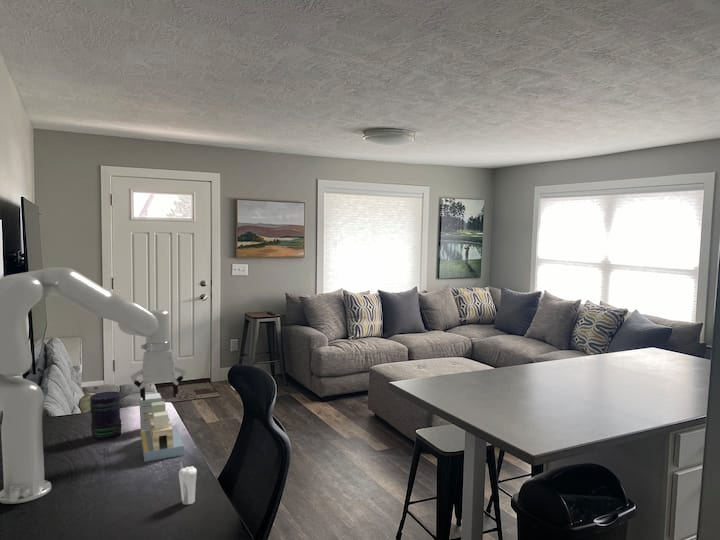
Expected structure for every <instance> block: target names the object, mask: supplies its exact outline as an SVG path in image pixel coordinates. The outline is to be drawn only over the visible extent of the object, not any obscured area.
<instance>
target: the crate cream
mask: <svg viewBox="0 0 720 540" xmlns="http://www.w3.org/2000/svg"><path fill="white" fill-rule="evenodd" d="M153 416H154V428H155V429H161V428H168V427H169V424H168V416H169V413H168V410H166V411H164V412H156V413H153Z"/></svg>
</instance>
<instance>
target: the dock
mask: <svg viewBox="0 0 720 540" xmlns="http://www.w3.org/2000/svg"><path fill="white" fill-rule="evenodd" d="M172 428H173V448H169V449H167V445H166V441H165V438H164V436H159V450H156V451H153V446H152V441H151V436H150V431H149V430H140V441H141V448H142V454H143V460H144V461H143V462H145V463H146V462H150V461H151V462H153V461H156V460H157V461H158V460H162V459H169V458H175V457H181V456H184V455H185V445H184V442H183V440H182V437H181V435H180V434H181V433H180V431H179V429H178V425H172Z"/></svg>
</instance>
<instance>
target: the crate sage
mask: <svg viewBox="0 0 720 540" xmlns="http://www.w3.org/2000/svg"><path fill="white" fill-rule="evenodd" d="M151 404H152V417H153V418H154V416H153V413H156V412H164V411H167V410H166V402H165V401H164V400H162V401H161V402H153V403H151Z"/></svg>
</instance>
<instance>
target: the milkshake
mask: <svg viewBox="0 0 720 540" xmlns="http://www.w3.org/2000/svg"><path fill="white" fill-rule="evenodd" d="M179 465H180V467H181V468H180V470H179V471H178V478H179V480H178V481H179V485H180V487H179V488H180V495H181V503H182V504H183V505H184V506H185V505H188V506H189V505H192V504H194V503H195V502H196V482H197V474H198V473H197V472H198V471H197V468H196V467H195V466H193V465H192V466H186V467H184V466H183V462H182V461H180V462H179Z"/></svg>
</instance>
